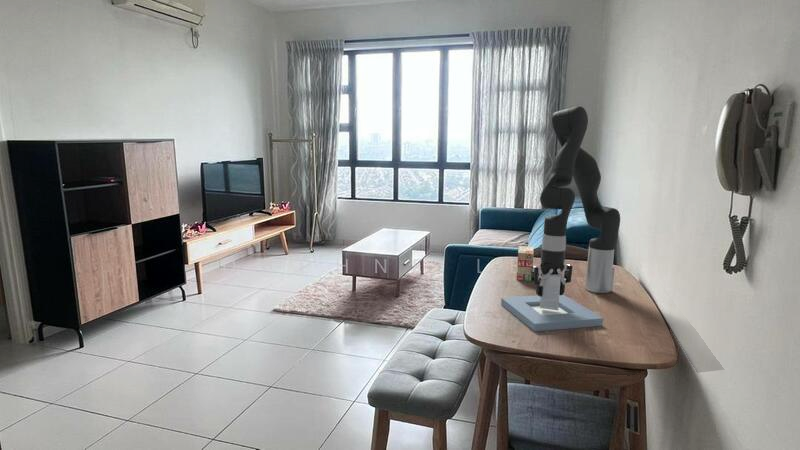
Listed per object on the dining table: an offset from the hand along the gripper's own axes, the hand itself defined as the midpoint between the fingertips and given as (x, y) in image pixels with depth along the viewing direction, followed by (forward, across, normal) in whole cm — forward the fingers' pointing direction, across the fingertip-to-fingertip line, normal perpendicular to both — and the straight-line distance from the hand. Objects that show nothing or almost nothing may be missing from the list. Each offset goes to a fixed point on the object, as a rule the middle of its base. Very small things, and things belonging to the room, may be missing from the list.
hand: (549, 295), depth 156 cm
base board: (+7, 0, 0) cm, 7 cm away
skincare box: (+5, 0, 0) cm, 5 cm away
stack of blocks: (+7, -15, -46) cm, 49 cm away
